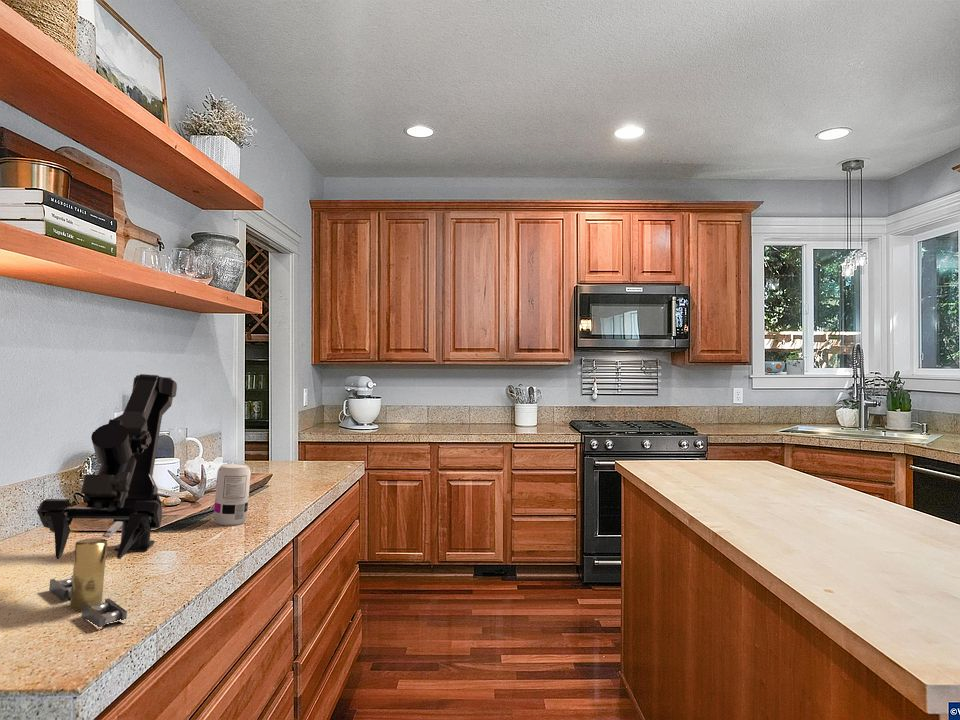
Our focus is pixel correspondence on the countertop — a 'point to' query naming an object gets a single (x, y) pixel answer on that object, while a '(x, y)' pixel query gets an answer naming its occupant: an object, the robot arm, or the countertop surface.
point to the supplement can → (232, 494)
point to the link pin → (88, 573)
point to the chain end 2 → (103, 613)
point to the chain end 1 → (61, 588)
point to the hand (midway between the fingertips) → (88, 558)
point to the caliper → (113, 528)
